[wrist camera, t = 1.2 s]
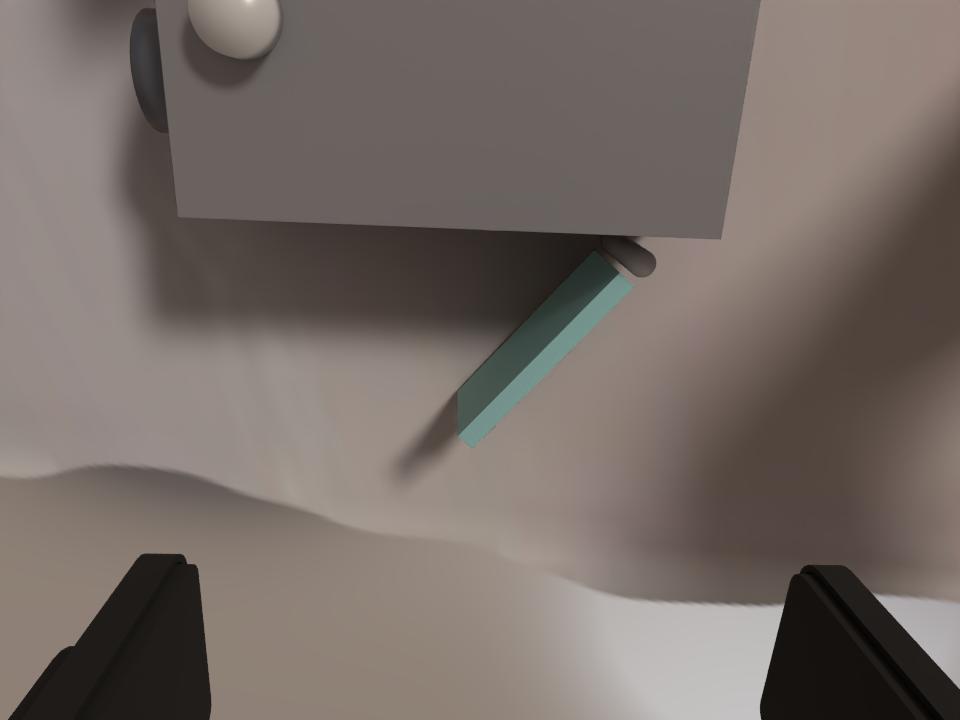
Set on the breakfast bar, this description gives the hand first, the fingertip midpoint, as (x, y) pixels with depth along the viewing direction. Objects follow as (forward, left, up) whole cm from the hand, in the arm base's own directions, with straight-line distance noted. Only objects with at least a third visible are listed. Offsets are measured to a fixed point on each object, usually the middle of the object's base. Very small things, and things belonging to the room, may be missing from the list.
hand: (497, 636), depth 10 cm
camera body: (+1, -9, -21) cm, 23 cm away
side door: (-3, +1, -21) cm, 21 cm away
